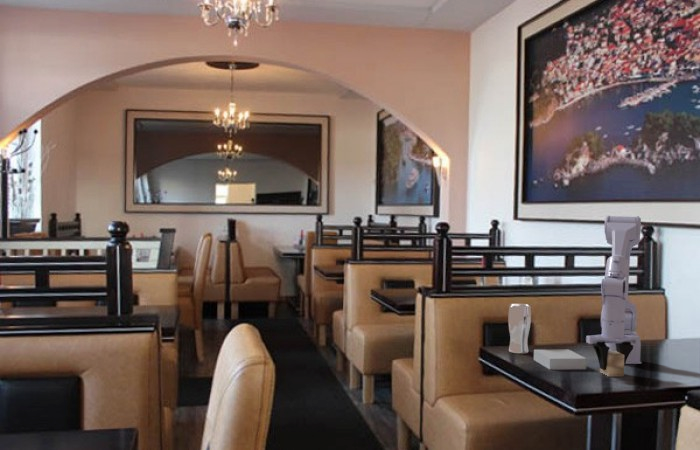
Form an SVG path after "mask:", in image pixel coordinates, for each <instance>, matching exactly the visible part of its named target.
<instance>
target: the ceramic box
mask: <svg viewBox="0 0 700 450" xmlns="http://www.w3.org/2000/svg"><path fill="white" fill-rule="evenodd" d="M533 361H535V362H536V363H539V364H540V365H542V366H543V367H544V368H547V369H548V370H586V369H587V362H588V360H587V357H584V356H583V355H580V354H578V353H576V351H575V352H574V351H572V350H571V349H533Z"/></svg>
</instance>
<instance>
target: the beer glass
mask: <svg viewBox="0 0 700 450" xmlns="http://www.w3.org/2000/svg"><path fill="white" fill-rule="evenodd" d="M531 311H532V310H531V304H528V303H520V302H518V303H516V302H514V303H513V302H512V303H509V305H508V314H507V316H508V317H507V319H508V320H507V322H508V331H509V336H510V337H509V339H510V340H509V346H508V351H509V353H514V354H520V355H521V354H522V355H523V354H524V355H525V354H529V346H528V338H529V334H530V333H529V332H530V328H531V323H532V312H531Z"/></svg>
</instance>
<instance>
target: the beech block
mask: <svg viewBox="0 0 700 450" xmlns="http://www.w3.org/2000/svg"><path fill="white" fill-rule="evenodd" d="M599 373H601V374H602V373H603V374H602V375H604V374H605V376H606V375H607V376H606V377H624V376H625V375H624V373H625V366H624V354H622V353H619V352H617V351H608V356H607V367H606V370H603V369H601V368H600V367H599Z"/></svg>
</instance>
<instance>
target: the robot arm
mask: <svg viewBox="0 0 700 450" xmlns="http://www.w3.org/2000/svg"><path fill="white" fill-rule="evenodd" d="M641 227H642V218H641V217H640V216H639V215H638V216H623V215H621V216H616V215H615V216H613V215H612V216H611V215H607V216H606V217H605V219H604V234H605V236H604V237H605V240H606V243H607V244H608V245H610V246H611V256H609V257H608V258H607V259H606V264H605V273H604V278H602V279H601V282H600V283H601V285H600V287H601V288H600V290H601V291H600V292H601V304H602V308H601V314H600V327H601V334H594V335H593V334H592V335H586V337H585V341H586V342H585V343H587V344H588V345H592V348H593V349H594V351H595V353H596V354H595V355H596V356H597V359H598V364H599V365H598V366H599V369H600V368H601V369H603V370H606V367H607V356H608V351H617V352H619V353H622V354H624V367H625V366H626V365H628V364H629V365H632V364H633V365H637V364H638V365H639V364H642V361H641V350H642V349H641V347H642V342H641V337H640V335H639V334H638V333H637V332H636V331H637V328H638V308H637V306H636V305H635V304H634V303H633V302H632V301H630V300H629V299H628V298H629V278H630V267H631V266H630V265H631V253H632V249H633V248H634V247H635V246H638V245H639V244H640V241H641V233H642V232H641V231H642V230H641V229H642V228H641Z"/></svg>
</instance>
